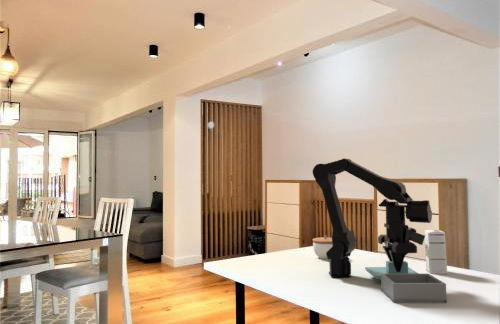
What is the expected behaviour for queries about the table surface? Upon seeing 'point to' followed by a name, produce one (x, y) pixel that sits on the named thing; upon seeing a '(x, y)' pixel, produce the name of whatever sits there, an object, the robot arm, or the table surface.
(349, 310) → the table surface
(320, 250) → the lidded jar
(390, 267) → the lid
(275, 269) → the table surface
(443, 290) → the tub
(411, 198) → the robot arm
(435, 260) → the syrup box
